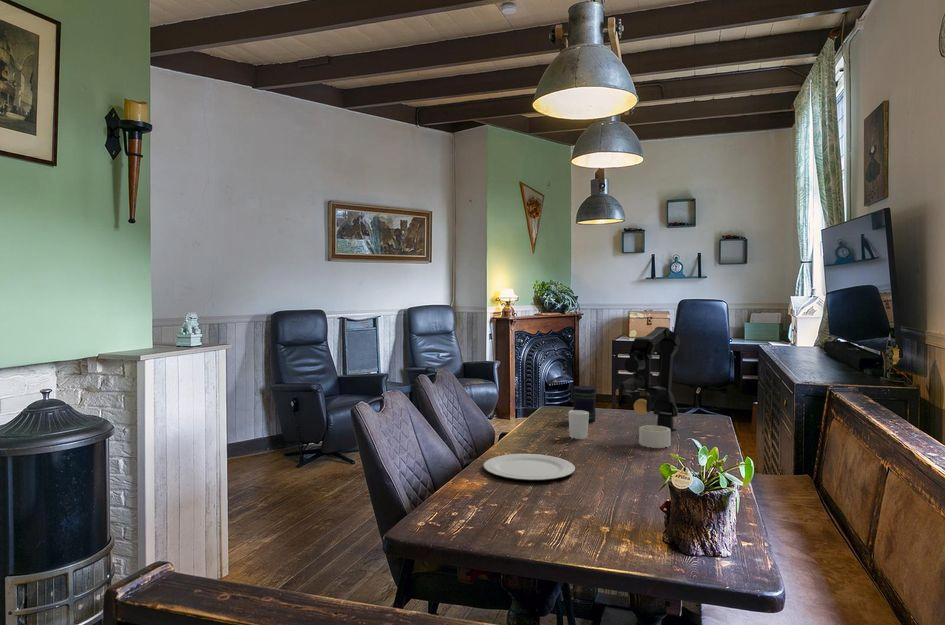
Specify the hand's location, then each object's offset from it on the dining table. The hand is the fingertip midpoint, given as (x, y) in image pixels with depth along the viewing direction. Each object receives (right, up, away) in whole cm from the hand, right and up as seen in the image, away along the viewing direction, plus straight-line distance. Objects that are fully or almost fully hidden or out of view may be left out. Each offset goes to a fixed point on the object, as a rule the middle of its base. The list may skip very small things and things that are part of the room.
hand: (641, 411), depth 241 cm
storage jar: (-16, -10, +35) cm, 40 cm away
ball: (0, +2, 0) cm, 2 cm away
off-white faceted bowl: (+3, -12, -6) cm, 14 cm away
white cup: (-24, -11, +4) cm, 27 cm away
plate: (-47, -13, -41) cm, 64 cm away
